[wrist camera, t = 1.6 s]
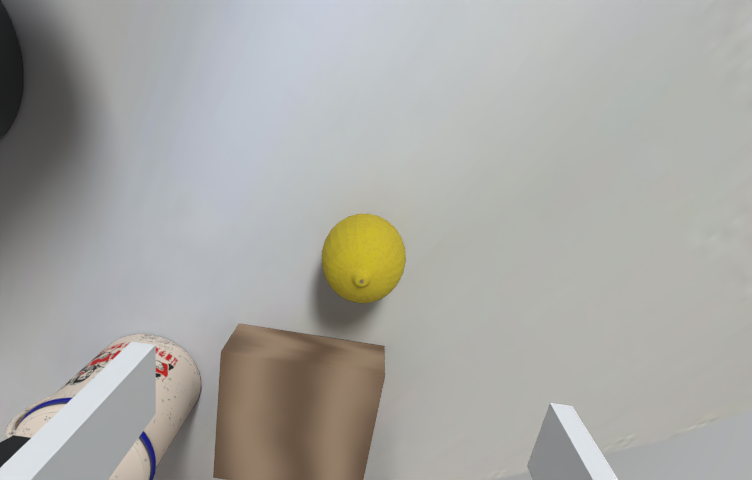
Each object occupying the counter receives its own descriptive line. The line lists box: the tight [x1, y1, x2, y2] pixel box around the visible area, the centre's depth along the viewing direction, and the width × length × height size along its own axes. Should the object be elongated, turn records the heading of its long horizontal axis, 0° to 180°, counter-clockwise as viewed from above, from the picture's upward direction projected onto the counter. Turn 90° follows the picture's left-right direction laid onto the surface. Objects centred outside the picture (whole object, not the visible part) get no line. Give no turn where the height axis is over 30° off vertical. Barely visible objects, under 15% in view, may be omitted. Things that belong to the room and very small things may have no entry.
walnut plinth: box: [213, 324, 385, 480], centre depth 34 cm, size 12×12×4 cm
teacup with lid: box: [5, 334, 201, 480], centre depth 30 cm, size 12×9×12 cm
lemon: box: [322, 214, 406, 303], centre depth 28 cm, size 6×6×8 cm
